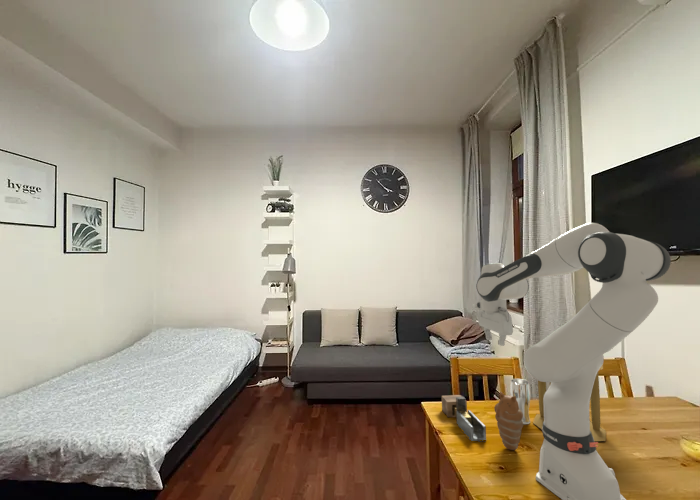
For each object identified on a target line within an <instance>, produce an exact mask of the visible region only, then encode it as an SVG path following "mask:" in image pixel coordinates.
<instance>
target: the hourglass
mask: <svg viewBox="0 0 700 500" xmlns="http://www.w3.org/2000/svg"><path fill="white" fill-rule="evenodd" d="M603 369H604V363H603V364H602V366H601V367H600V369H599V370H598V372H597V374H596V377H595V381H594V385H593V388H592V393H591V397H590V413H591V414H590V415H591V420H590V431H591V433H592V436H593V438H594V442H606V439H607V436H606V435H607V434H606V429H605V428H603V427H602V426H601V396H600V394H601V393H600V380H599V379H600V378H599V371H600V370H603ZM550 384H551V382H549V385H550ZM537 390H538V391H537V392H538V411H539V413H536V415H535V416H534V419H533V421H532V423H533V424H534V425H535V426H537V428H539V429H540V430H541V431H542V426H543V422H544V403H543V398H544V394H545V392H546V391H547V382H541V381H538V380H537Z"/></svg>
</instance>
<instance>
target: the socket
mask: <svg viewBox="0 0 700 500" xmlns="http://www.w3.org/2000/svg"><path fill="white" fill-rule="evenodd" d="M456 397H463V395H461V394H450V395H448V394H447V395H441V411H442V413H443V414H444V415H445V414H446V415H447V416H446V415H445V416H446V417H447V418H457V417H456V416H455V415H454V414H453V413H452V405H456ZM467 402H468V401H467V400H466V412H467V413H468V403H467Z"/></svg>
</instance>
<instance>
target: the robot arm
mask: <svg viewBox="0 0 700 500" xmlns="http://www.w3.org/2000/svg"><path fill="white" fill-rule="evenodd" d="M671 264H672V263H671V256H670V253H669V252H668V250H667V249H666V248H665V247H664V246H662V245H661V244H659V243H657V242H655V241H652V240H646V239H644V238H640V237H636V236H634V235H629V234H624V233H614V232H611V231H610V230H608V229H607V227H605V226H604V225H602V224H599V223H598V222H587V223H584V224H581V225H579V226H577V227H574V228H572V229H570V230H568V231H566V232H564V233H563V234H561V235H559V236H558V237H556V238H554V239H553V240H551V241H550V242H548V243H546V244H545V245H542V246H541V247H539V248H537V249H536V250H535V251H534V250H533V251H532V252H531V253H528V254H527V255H524V256H523V257H521V258H518V259H517V260H514V261H512V262H511V263H509V264H507V265H505V264H503V263H501V262H493V263H486V264H485V265H483V266H482V267H481V271H480V275H479V277H478V279H477V280H476V281H477V282H476V292H477V293H478V295H479V296H480V300H479V301H478V302H476V303H475V305H476V308H477V312H476V313H477V323H478V325H479V327H482V328H483V332H484V334H485V339H486V340H487V341H491V340H493V335H492V333H491V331H493V332H495V333H496V334H497V333H498V337H499V339H497V344H498V345H499V346H500V347H503V346H505V344H506V343H505V342H506V339H507V336H511V335H513V332H514V327H513V320H512V316H511V314H510V312H509V310H508V309H507V308H508V307H507V300H518V299H522V298H524V297H526V296H527V294H528V293H529V292H528V291H529V289H530V288H529V287H530V286H529V285H530V284H529V281H528V280H529V279H534V278H542V277H543V278H545V277H559V276H560V277H561V276H565V275H566V276H567V275H569V274H573V273H575V272H578V271H580V270H582V269H584V270H586V272H588V274H589V275H590V277H591V279H592V280H593V281H595V282H598V283H602V286H601V288H600V290H599V291H598V292H597V293H596V294H595V295H594V296H593V297H592V298H591V299H590V300H589V301H588V302H586V304H585V305H584V306H583V307H582V308H581V309H580V310H579V311H578V312H577V313H576V314H575V315H574V316H573V317H572V318H570V319H568V321H567V322H565V323H564V324H562V325H561V326H559V327H558V328H557V329H555V330H554V331H552V332H551V333H550V334H547V336H546V337H544V338H543V339H542V340H540V341H538V342H536V343H535V344H533V345H532V346H530V347H528V348H527V349H526V350H525V352H524V354H523V364H524V365H523V366H524V367H525V370H526V371H527V373H528V374H529V375H530V376H531V377H532V378H533V379H535V380H536V381H537V382H538V381H541V382H546V383H549V387H548V388H546V392H545V394H544V398H543V403H544V422H543V426H542V430H541V431H542V436H543V438H544V439H543V442H542V444H541V447H540V451H539V464H538V465H539V466H538V472H536V475H535V480H536V481H537V482H539V483H540V484H541V485H542V486H544V487H545V488H546V489H547V490H549V491H551V492H552V493H553V494H554V495H556V496H557V497H558V498H560V499H561V500H627V499H626V498H625V497H624V496H623V494H621V491H620V490H621V489H620V485H619V482H618V480H617V478H616V473H615V471H614V469H613V468H612V467H611V468H610V467H608V465H607V463H605V461H604V459H603V458H602V457H601V455H600V454H599V453H598V451H597V448H598V447H599V445H598V444H599V441H594V438H593V436H592V433H591V431H590V421H591V420H590V419H591V418H590V405H591V400H590V397H591V393H592V388H593V385H594V381H595V377H596V374H597V372H598V373H599V371H600V370H599V369H600V367H601V366H602V364H603V365H604V360H605V359H604V358H605V357H604V354H606V353H608V352H610V351H611V350H613V348H614V347H617V345H618V344H620V343H621V342H622V341H623V340H625V339H626V338H627V337H629V335H631V334H632V332H634V331H635V330H636V329H637V328H638V327H639V326H641V325H642V323H644V321H645V320H646V319H648V317H649V316H650V314H651V313H652V312H653V311H654V309H655V308H656V306H657V305H658V302H659V296H658V293H657V291H656V290H655V287H654V288H653V286H652V285H651V284H649V281H653V280H657V279H660V278H661V277H663V276H665V274H666V273H667V272H668V271H669V268H671V267H670V266H671ZM550 382H551V384H550Z"/></svg>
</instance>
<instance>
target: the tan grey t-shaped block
mask: <svg viewBox="0 0 700 500" xmlns="http://www.w3.org/2000/svg"><path fill="white" fill-rule="evenodd" d="M466 399H467V398H465V396H462V397H456V405H452V413H453V414H454V415H455V416H456V417H455V418H457V411H459V412H460V413H461V414H462V415H463V416H464V417H465V418H466V419H467V421H468V422H469V423H470V424H471V425H472V419H471V416H470V415H469V414H468V411H467V412H466V401H467V400H466Z"/></svg>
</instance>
